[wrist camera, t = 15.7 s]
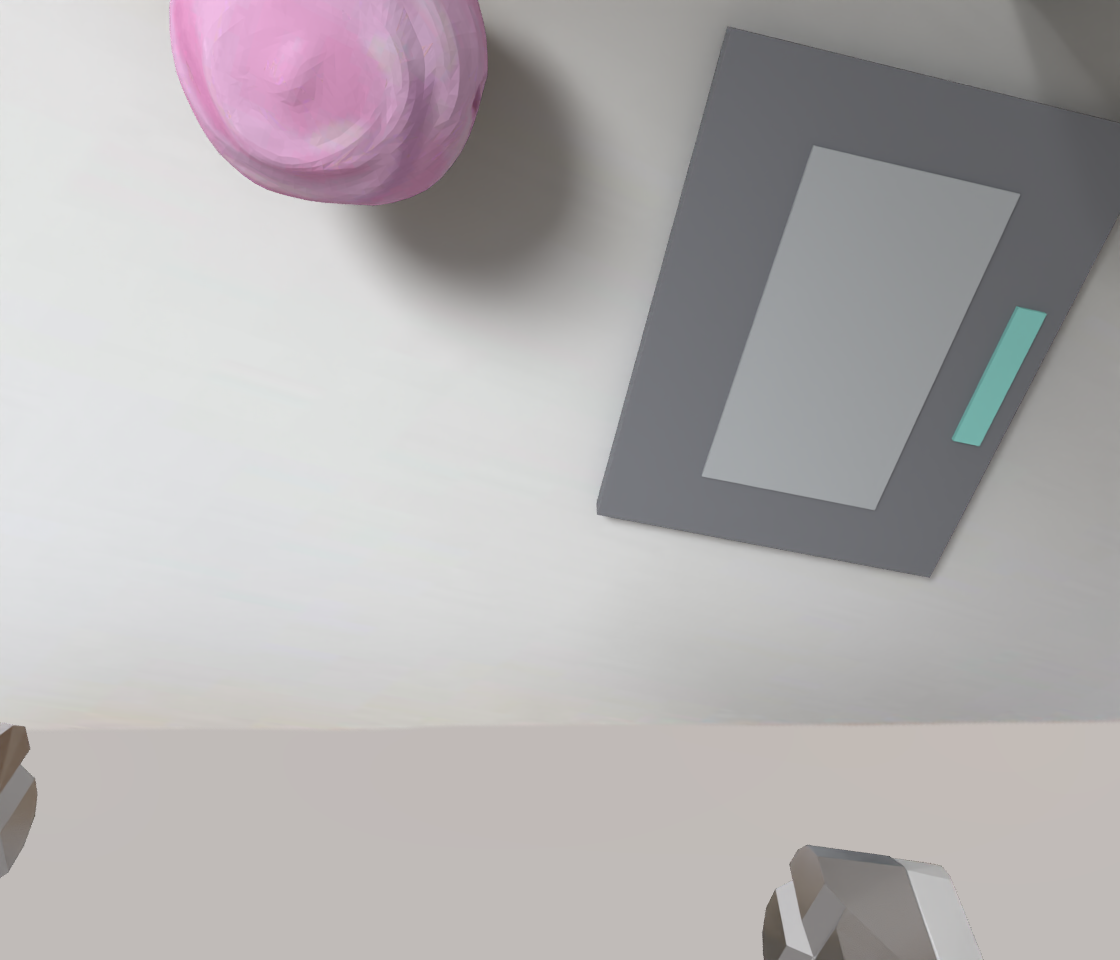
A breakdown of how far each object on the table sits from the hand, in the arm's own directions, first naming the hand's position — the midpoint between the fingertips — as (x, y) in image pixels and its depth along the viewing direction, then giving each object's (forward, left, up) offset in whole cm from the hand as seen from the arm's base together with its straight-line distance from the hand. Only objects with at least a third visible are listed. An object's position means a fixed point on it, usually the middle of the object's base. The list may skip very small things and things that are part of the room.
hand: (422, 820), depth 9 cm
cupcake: (-5, -7, -29) cm, 30 cm away
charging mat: (+2, +13, -28) cm, 32 cm away
